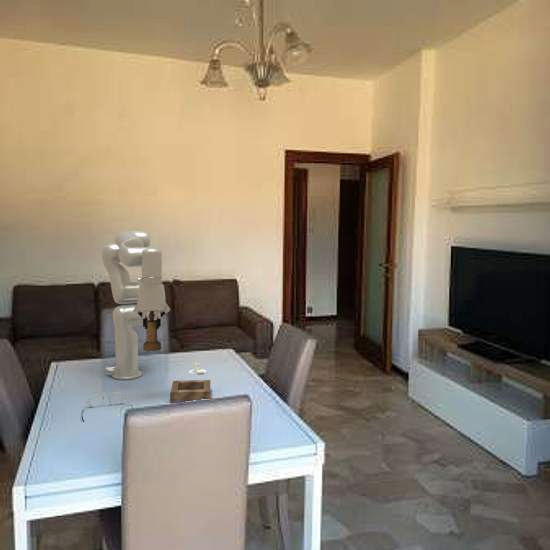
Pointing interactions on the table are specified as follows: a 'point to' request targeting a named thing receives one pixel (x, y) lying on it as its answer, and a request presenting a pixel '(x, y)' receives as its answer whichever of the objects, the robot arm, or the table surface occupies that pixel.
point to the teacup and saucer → (197, 369)
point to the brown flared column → (152, 335)
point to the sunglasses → (103, 399)
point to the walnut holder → (189, 390)
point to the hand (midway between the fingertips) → (152, 328)
